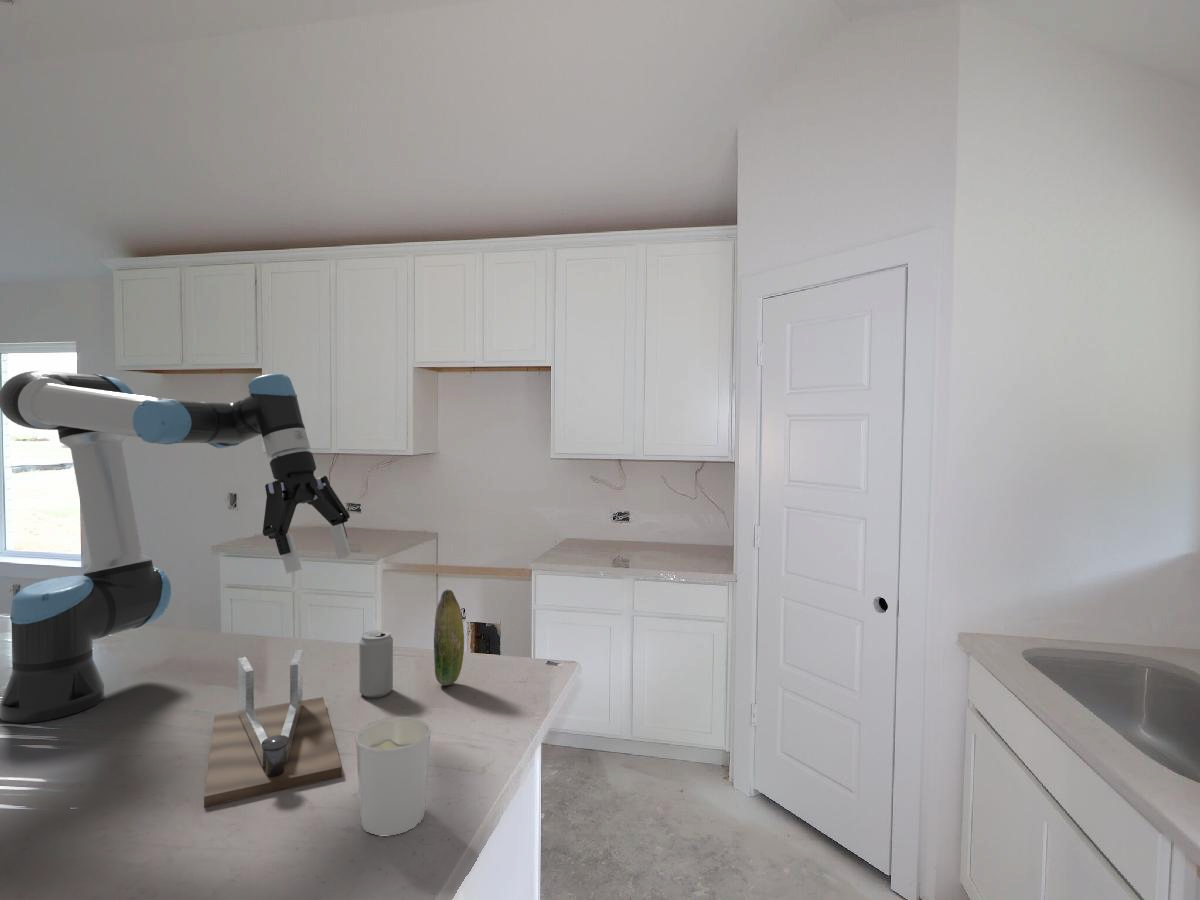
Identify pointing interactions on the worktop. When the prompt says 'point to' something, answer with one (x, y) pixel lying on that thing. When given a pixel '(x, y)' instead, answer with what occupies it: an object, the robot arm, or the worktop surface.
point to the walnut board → (240, 767)
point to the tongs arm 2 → (293, 700)
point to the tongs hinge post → (275, 754)
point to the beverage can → (376, 663)
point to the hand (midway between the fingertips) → (320, 564)
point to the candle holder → (392, 774)
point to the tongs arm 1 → (249, 708)
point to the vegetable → (448, 639)
